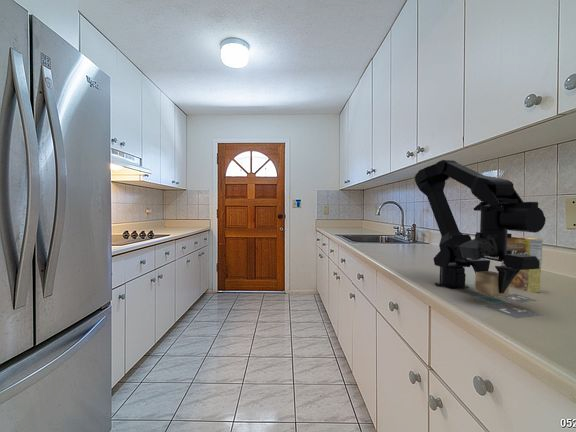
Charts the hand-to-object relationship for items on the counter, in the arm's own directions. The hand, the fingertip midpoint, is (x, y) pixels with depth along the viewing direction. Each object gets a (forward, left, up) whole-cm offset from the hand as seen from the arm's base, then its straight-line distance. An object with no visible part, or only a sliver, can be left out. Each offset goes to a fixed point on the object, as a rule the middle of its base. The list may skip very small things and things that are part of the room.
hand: (491, 290), depth 75 cm
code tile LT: (+8, -2, -3) cm, 8 cm away
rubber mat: (0, 0, -3) cm, 3 cm away
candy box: (-7, +20, -3) cm, 21 cm away
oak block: (0, 0, -1) cm, 1 cm away
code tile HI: (+1, +8, -3) cm, 8 cm away
